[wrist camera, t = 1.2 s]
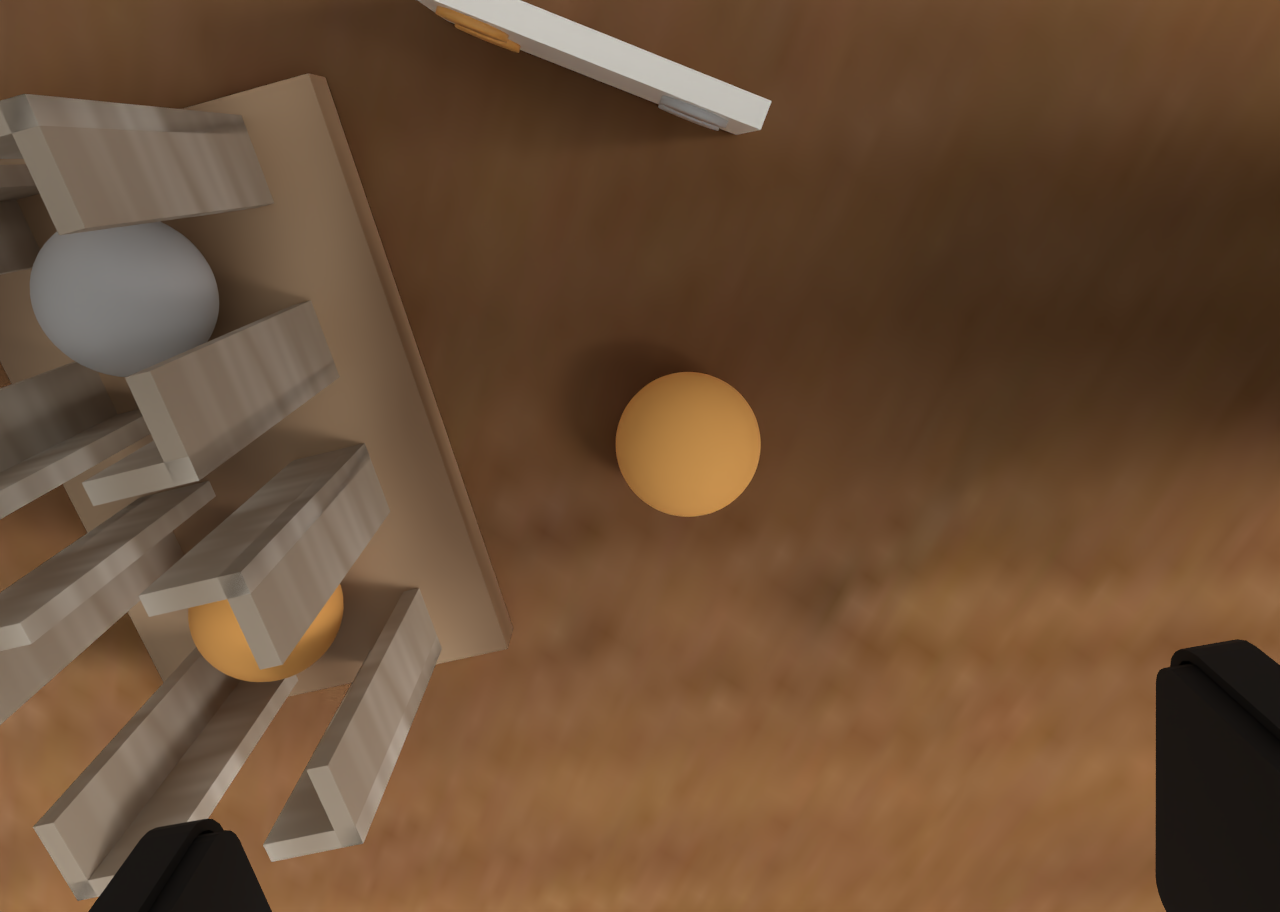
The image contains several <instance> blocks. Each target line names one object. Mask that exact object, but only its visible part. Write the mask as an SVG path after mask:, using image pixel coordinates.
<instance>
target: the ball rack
mask: <svg viewBox="0 0 1280 912" xmlns="http://www.w3.org/2000/svg"><path fill="white" fill-rule="evenodd" d="M0 159H2V160H0V362H1V364H2V366H3V368H4V370H5V372H6V374H7V376H8V378H9V380H10V382H11V385H8V386H5V387H3V388H0V519H2V518H3V517H5V516H7V515H9V514H10V513H12V512H14V511H16V510H18V509H19V508H21V507H23V506H25V505H26V504H28V503H30V502H32V501H33V500H35V499H37V498H39V497H40V496H42V495H44V494H46V493H47V492H49V491H51V490H53V489H54V488H56V487H58V486H60V485H62V484H63V486H64V488H65V490H66V492H67V494H68V496H69V498H70V500H71V502H72V504H73V506H74V508H75V510H76V511H77V513H78V515H79V517H80V519H81V521H82V523H83V525H84V527H85V529H86V531H87V534H85V535H84V536H82V537H81V538H80V539H78V540H77V541H75V542H74V543H72V544H71V545H69V546H68V547H66V548H65V549H63V550H62V551H60V552H59V553H58V554H56V555H55V556H53V557H52V558H50V559H49V560H47V561H46V562H44V563H43V564H41V565H40V566H38V567H37V568H36V569H34V570H33V571H31V572H30V573H28V574H27V575H25V576H24V577H22V578H21V579H19V580H18V581H16V582H15V583H14V584H12V585H11V586H9V587H8V588H6V589H5V590H3V591H2V592H0V725H1V724H2V723H3V722H4V721H5V720H6V719H7V718H9V717H10V716H11V715H12V714H13V713H14V712H15V711H16V710H18V709H19V708H20V707H21V706H22V705H23V704H24V703H25V702H27V701H28V700H29V699H30V698H31V697H32V696H33V695H34V694H36V693H37V692H38V691H39V690H40V689H41V688H42V687H43V686H45V685H46V684H47V683H48V682H49V681H50V680H51V679H52V678H54V677H55V676H56V675H57V674H58V673H59V672H60V671H61V670H63V669H64V668H65V667H66V666H67V665H68V664H69V663H70V662H72V661H73V660H74V659H75V658H76V657H77V656H78V655H79V654H81V653H82V652H83V651H84V650H85V649H86V648H87V647H88V646H90V645H91V644H92V643H93V642H94V641H95V640H96V639H97V638H99V637H100V636H101V635H102V634H103V633H104V632H105V631H106V630H108V629H109V628H110V627H111V626H112V625H113V624H114V623H115V622H117V621H118V620H119V619H120V618H121V617H122V616H123V615H124V614H126V613H127V612H128V614H129V616H130V617H131V619H132V621H133V623H134V625H135V627H136V629H137V631H138V633H139V635H140V637H141V639H142V641H143V643H144V645H145V647H146V649H147V651H148V653H149V655H150V657H151V659H152V661H153V663H154V665H155V667H156V669H157V670H158V672H159V674H160V676H161V678H162V680H163V682H164V683H163V684H162V685H161V686H160V687H159V689H158V690H157V691H156V692H155V693H154V694H153V695H152V696H151V697H150V698H149V700H148V701H147V702H146V703H145V704H144V705H143V706H142V707H141V708H140V709H139V711H138V712H137V713H136V714H135V715H134V716H133V717H132V718H131V719H130V721H129V722H128V723H127V724H126V725H125V726H124V727H123V728H122V729H121V730H120V732H119V733H118V734H117V735H116V736H115V737H114V738H113V739H112V740H111V742H110V743H109V744H108V745H107V746H106V747H105V748H104V749H103V750H102V751H101V753H100V754H99V755H98V756H97V757H96V758H95V759H94V760H93V761H92V762H91V764H90V765H89V766H88V767H87V768H86V769H85V770H84V771H83V772H82V774H81V775H80V776H79V777H78V778H77V779H76V780H75V781H74V782H73V783H72V785H71V786H70V787H69V788H68V789H67V790H66V791H65V792H64V793H63V795H62V796H61V797H60V798H59V799H58V800H57V801H56V802H55V803H54V804H53V806H52V807H51V808H50V809H49V810H48V811H47V812H46V813H45V814H44V815H43V817H42V818H41V819H40V820H39V821H38V822H37V823H36V824H35V825H34V827H33V828H34V830H35V831H36V833H37V835H38V836H39V838H40V840H41V841H42V843H43V844H44V846H45V848H46V849H47V851H48V853H49V854H50V856H51V858H52V859H53V861H54V863H55V864H56V866H57V867H58V869H59V871H60V872H61V874H62V876H63V877H64V879H65V881H66V882H67V884H68V885H69V887H70V889H71V890H72V892H73V894H74V895H75V897H76V899H77V900H78V901H79V900H84V899H89V898H94V897H99V896H100V895H101V893H102V892H103V891H104V889H105V888H106V886H107V885H108V884H109V882H110V881H111V880H112V878H113V877H114V875H115V874H116V873H117V871H118V870H119V868H120V867H121V866H122V864H123V863H124V861H125V860H126V859H127V857H128V856H129V854H130V853H131V852H132V850H133V849H134V847H135V846H136V845H137V843H138V842H139V840H140V839H141V838H142V837H143V836H144V835H145V834H146V833H147V832H148V831H150V830H152V829H154V828H156V827H161V826H167V825H173V824H179V823H184V822H190V821H196V820H202V819H208V818H209V816H210V815H211V813H212V812H213V810H214V808H215V807H216V805H217V804H218V802H219V801H220V799H221V798H222V796H223V795H224V793H225V792H226V790H227V789H228V787H229V786H230V784H231V782H232V781H233V779H234V778H235V776H236V775H237V773H238V772H239V770H240V769H241V767H242V766H243V764H244V763H245V761H246V760H247V758H248V756H249V755H250V753H251V752H252V750H253V749H254V747H255V746H256V744H257V743H258V741H259V740H260V738H261V737H262V735H263V734H264V732H265V730H266V729H267V727H268V726H269V724H270V723H271V721H272V720H273V718H274V717H275V715H276V714H277V712H278V711H279V709H280V708H281V706H282V704H283V703H284V701H285V700H286V698H287V697H289V696H293V695H298V694H303V693H307V692H312V691H316V690H321V689H326V688H330V687H335V686H339V685H344V684H349V683H352V684H351V686H350V688H349V689H348V691H347V693H346V695H345V697H344V699H343V700H342V702H341V704H340V706H339V708H338V709H337V711H336V713H335V715H334V717H333V719H332V720H331V722H330V724H329V726H328V728H327V730H326V731H325V733H324V735H323V737H322V739H321V740H320V742H319V744H318V746H317V748H316V750H315V751H314V753H313V755H312V757H311V759H310V761H309V762H308V764H307V766H306V768H305V770H304V771H303V773H302V775H301V777H300V779H299V781H298V782H297V784H296V786H295V788H294V790H293V791H292V793H291V795H290V797H289V799H288V801H287V802H286V804H285V806H284V808H283V810H282V812H281V813H280V815H279V817H278V819H277V821H276V822H275V824H274V826H273V828H272V830H271V832H270V833H269V835H268V837H267V839H266V841H265V843H264V844H263V845H264V847H265V849H266V851H267V853H268V855H269V857H270V859H271V861H272V862H273V861H278V860H283V859H288V858H293V857H298V856H303V855H308V854H313V853H318V852H323V851H328V850H333V849H338V848H343V847H348V846H353V845H358V844H363V843H364V840H365V838H366V835H367V833H368V830H369V828H370V825H371V823H372V820H373V818H374V816H375V813H376V811H377V808H378V806H379V803H380V801H381V798H382V796H383V793H384V791H385V788H386V786H387V783H388V781H389V778H390V776H391V774H392V771H393V769H394V766H395V764H396V761H397V759H398V756H399V754H400V751H401V749H402V746H403V744H404V741H405V739H406V736H407V734H408V732H409V729H410V727H411V724H412V722H413V719H414V717H415V714H416V712H417V709H418V707H419V704H420V702H421V699H422V697H423V694H424V692H425V690H426V687H427V685H428V682H429V680H430V677H431V675H432V672H433V670H434V667H435V665H436V664H440V663H445V662H450V661H454V660H459V659H463V658H468V657H473V656H477V655H482V654H486V653H491V652H496V651H500V650H505V649H508V646H509V643H510V639H511V635H512V632H513V626H512V623H511V620H510V618H509V615H508V612H507V609H506V606H505V603H504V600H503V597H502V594H501V591H500V588H499V585H498V582H497V579H496V576H495V574H494V571H493V568H492V565H491V562H490V559H489V556H488V553H487V550H486V547H485V544H484V541H483V538H482V535H481V532H480V530H479V527H478V524H477V521H476V518H475V515H474V512H473V509H472V506H471V503H470V500H469V497H468V494H467V491H466V489H465V486H464V483H463V480H462V477H461V474H460V471H459V468H458V465H457V462H456V459H455V456H454V453H453V450H452V447H451V445H450V442H449V439H448V436H447V433H446V430H445V427H444V424H443V421H442V418H441V415H440V412H439V409H438V406H437V403H436V401H435V398H434V395H433V392H432V389H431V386H430V383H429V380H428V377H427V374H426V371H425V368H424V365H423V362H422V359H421V357H420V354H419V351H418V348H417V345H416V342H415V339H414V336H413V333H412V330H411V327H410V324H409V321H408V318H407V316H406V313H405V310H404V307H403V304H402V301H401V298H400V295H399V292H398V289H397V286H396V283H395V280H394V277H393V274H392V272H391V269H390V266H389V263H388V260H387V257H386V254H385V251H384V248H383V245H382V242H381V239H380V236H379V233H378V230H377V228H376V225H375V222H374V219H373V216H372V213H371V210H370V207H369V204H368V201H367V198H366V195H365V192H364V189H363V187H362V184H361V181H360V178H359V175H358V172H357V169H356V166H355V163H354V160H353V157H352V154H351V151H350V148H349V145H348V143H347V140H346V137H345V134H344V131H343V128H342V125H341V122H340V119H339V116H338V113H337V110H336V107H335V104H334V101H333V99H332V96H331V93H330V90H329V87H328V84H327V81H326V78H325V77H322V76H318V75H314V74H310V73H307V74H304V75H300V76H297V77H293V78H289V79H286V80H282V81H279V82H275V83H272V84H268V85H265V86H261V87H258V88H254V89H250V90H247V91H243V92H240V93H236V94H233V95H229V96H226V97H222V98H218V99H215V100H211V101H208V102H204V103H201V104H197V105H194V106H190V107H186V108H183V109H174V108H164V107H154V106H144V105H134V104H123V103H113V102H103V101H93V100H83V99H73V98H63V97H52V96H42V95H32V94H22V95H19V96H15V97H12V98H9V99H5V100H2V101H0ZM159 221H160V222H162V223H164V224H166V225H168V226H170V227H171V228H173V229H175V230H176V231H178V232H179V233H181V234H182V235H183V236H185V237H186V238H187V239H188V240H190V241H191V242H192V243H193V244H194V245H195V246H196V247H197V249H198V250H199V251H200V252H201V254H202V255H203V256H204V258H205V259H206V261H207V262H208V264H209V266H210V268H211V270H212V272H213V274H214V277H215V280H216V283H217V288H218V293H219V313H218V318H217V322H216V325H215V328H214V330H213V333H212V335H211V336H210V338H209V340H208V342H206V343H204V344H202V345H199V346H197V347H195V348H192V349H190V350H188V351H185V352H183V353H181V354H178V355H176V356H174V357H171V358H169V359H167V360H164V361H162V362H160V363H157V364H155V365H153V366H150V367H148V368H146V369H144V370H141V371H139V372H137V373H134V374H132V375H130V376H127V377H118V376H112V375H107V374H103V373H100V372H97V371H94V370H92V369H90V368H87V367H85V366H83V365H81V364H79V363H77V362H76V361H74V360H72V359H71V358H70V357H68V356H67V355H66V354H64V353H63V352H62V351H61V350H60V349H59V348H58V347H56V346H55V345H54V344H53V343H52V341H51V340H50V339H49V338H48V337H47V335H46V334H45V333H44V331H43V330H42V328H41V326H40V325H39V323H38V321H37V319H36V316H35V314H34V311H33V307H32V304H31V298H30V276H31V271H32V267H33V264H34V262H35V259H36V257H37V255H38V253H39V251H40V250H41V248H42V247H43V245H44V244H45V243H46V242H47V241H48V240H49V238H50V237H51V236H52V235H54V234H55V233H56V232H58V234H59V235H65V234H73V233H80V232H87V231H94V230H102V229H109V228H116V227H123V226H130V225H138V224H145V223H152V222H159ZM339 584H340V585H341V588H342V592H343V603H344V610H343V617H342V621H341V625H340V629H339V631H338V633H337V635H336V637H335V639H334V641H333V643H332V644H331V646H330V647H329V648H328V650H327V651H326V652H325V653H324V654H323V656H322V657H321V658H320V659H318V660H317V661H316V662H315V663H314V664H312V665H311V666H310V667H308V668H307V669H305V670H303V671H302V672H300V673H298V674H296V675H293V676H291V677H288V678H285V679H281V680H278V681H271V682H249V681H244V680H240V679H236V678H233V677H231V676H228V675H226V674H224V673H223V672H221V671H219V670H218V669H216V668H215V667H213V666H212V665H211V664H210V663H209V662H208V661H207V660H206V659H205V658H204V657H203V656H202V655H201V653H200V652H199V651H198V649H197V647H196V645H195V643H194V641H193V639H192V636H191V632H190V629H189V622H188V608H191V607H195V606H199V605H204V604H208V603H212V602H217V601H221V600H225V599H227V600H228V602H229V604H230V606H231V608H232V610H233V613H234V615H235V617H236V619H237V621H238V623H239V626H240V628H241V630H242V632H243V634H244V636H245V638H246V641H247V643H248V645H249V647H250V649H251V651H252V654H253V656H254V658H255V660H256V662H257V664H258V667H259V669H260V670H261V669H266V668H270V667H275V666H280V665H283V664H284V662H285V661H286V659H287V658H288V656H289V655H290V654H291V652H292V651H293V649H294V648H295V647H296V645H297V644H298V642H299V641H300V639H301V638H302V637H303V635H304V634H305V632H306V631H307V629H308V628H309V627H310V625H311V624H312V622H313V621H314V620H315V618H316V617H317V615H318V614H319V612H320V611H321V610H322V608H323V607H324V605H325V604H326V603H327V601H328V600H329V598H330V597H331V595H332V594H333V593H334V591H335V590H336V588H337V587H338V585H339Z"/></svg>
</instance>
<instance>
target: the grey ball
mask: <svg viewBox="0 0 1280 912" xmlns="http://www.w3.org/2000/svg"><path fill="white" fill-rule="evenodd" d="M30 298H31V304H32V307H33V311H34V314H35V316H36V319H37V321H38V323H39V325H40V326H41V328H42V330H43V331H44V333H45V334H46V335H47V337H48V338H49V339H50V340H51V341H52V343H53V344H54V345H55V346H56V347H58V348H59V349H60V350H61V351H62V352H63V353H64V354H66V355H67V356H68V357H70V358H71V359H72V360H74V361H76V362H77V363H79V364H81V365H83V366H85V367H87V368H90V369H92V370H94V371H97V372H100V373H103V374H107V375H112V376H118V377H127V376H130V375H132V374H134V373H137V372H139V371H141V370H144V369H146V368H148V367H150V366H153V365H155V364H157V363H160V362H162V361H164V360H167V359H169V358H171V357H174V356H176V355H178V354H181V353H183V352H185V351H188V350H190V349H192V348H195V347H197V346H199V345H202V344H204V343H206V342H208V340H209V338H210V336H211V335H212V333H213V330H214V328H215V325H216V322H217V318H218V313H219V293H218V288H217V283H216V280H215V277H214V274H213V272H212V270H211V268H210V266H209V264H208V262H207V261H206V259H205V258H204V256H203V255H202V254H201V252H200V251H199V250H198V249H197V247H196V246H195V245H194V244H193V243H192V242H191V241H190V240H188V239H187V238H186V237H185V236H183V235H182V234H181V233H179V232H178V231H176V230H175V229H173V228H171V227H170V226H168V225H166V224H164V223H162V222H160V221H159V222H152V223H145V224H138V225H130V226H123V227H116V228H109V229H102V230H94V231H87V232H80V233H73V234H65V235H59V234H58V232H56V233H55V234H54V235H52V236H51V237H50V238H49V240H48V241H47V242H46V243H45V244H44V245H43V247H42V248H41V250H40V251H39V253H38V255H37V257H36V259H35V262H34V264H33V267H32V271H31V276H30Z"/></svg>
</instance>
